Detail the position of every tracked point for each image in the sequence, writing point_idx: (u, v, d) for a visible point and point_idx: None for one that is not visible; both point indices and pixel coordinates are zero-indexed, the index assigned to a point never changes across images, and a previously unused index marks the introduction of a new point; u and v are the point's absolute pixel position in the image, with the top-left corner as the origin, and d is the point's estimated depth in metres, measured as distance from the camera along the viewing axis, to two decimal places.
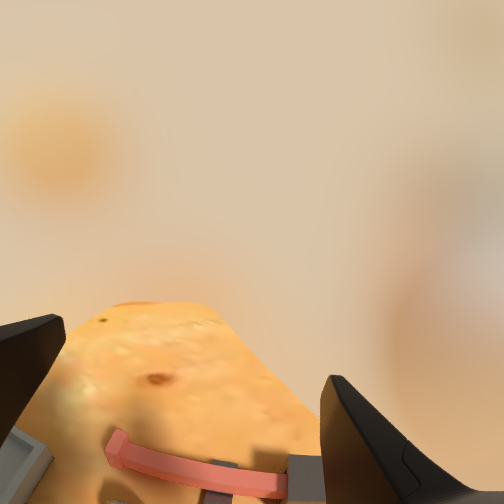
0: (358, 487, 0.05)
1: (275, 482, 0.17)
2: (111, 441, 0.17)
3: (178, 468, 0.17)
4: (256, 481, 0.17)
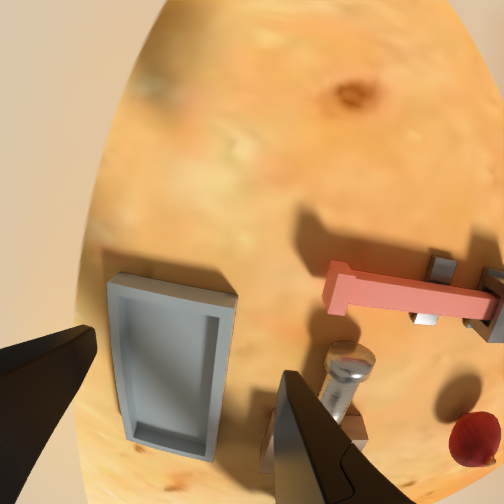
0: (296, 488, 0.05)
1: (485, 310, 0.16)
2: (335, 297, 0.16)
3: (409, 304, 0.16)
4: (472, 310, 0.16)
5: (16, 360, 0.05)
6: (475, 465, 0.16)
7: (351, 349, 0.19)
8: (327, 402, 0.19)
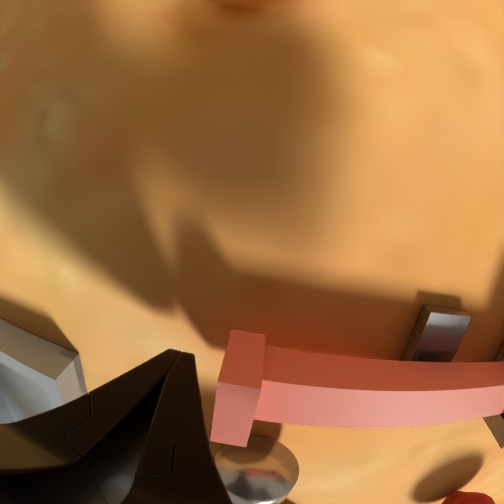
0: None
1: None
2: (219, 420, 0.07)
3: (394, 417, 0.07)
4: None
5: (118, 405, 0.05)
6: None
7: (259, 455, 0.10)
8: None
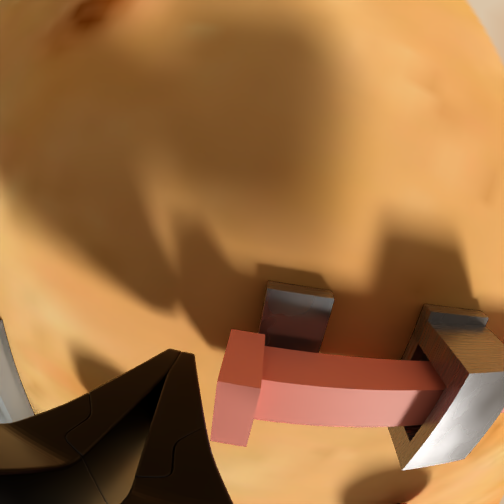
0: None
1: None
2: (219, 419, 0.07)
3: (393, 416, 0.07)
4: None
5: (118, 405, 0.05)
6: None
7: None
8: None
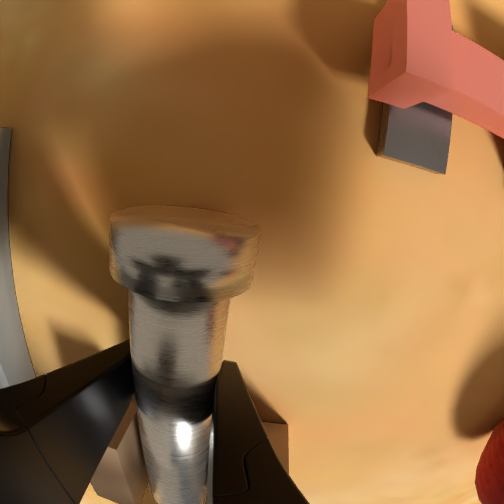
0: (209, 478, 0.05)
1: None
2: (416, 28, 0.04)
3: None
4: None
5: (70, 386, 0.05)
6: None
7: (194, 215, 0.07)
8: (136, 370, 0.07)
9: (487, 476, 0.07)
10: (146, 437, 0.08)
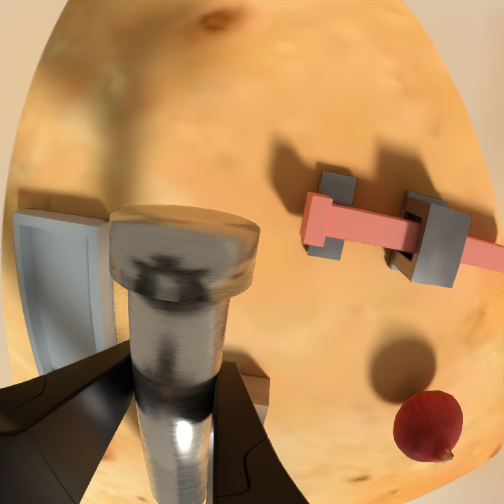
0: (209, 478, 0.05)
1: (486, 257, 0.15)
2: (311, 223, 0.14)
3: (399, 240, 0.15)
4: (472, 254, 0.15)
5: (70, 386, 0.05)
6: (425, 459, 0.15)
7: (194, 214, 0.07)
8: (136, 370, 0.07)
9: (396, 425, 0.18)
10: (146, 437, 0.08)
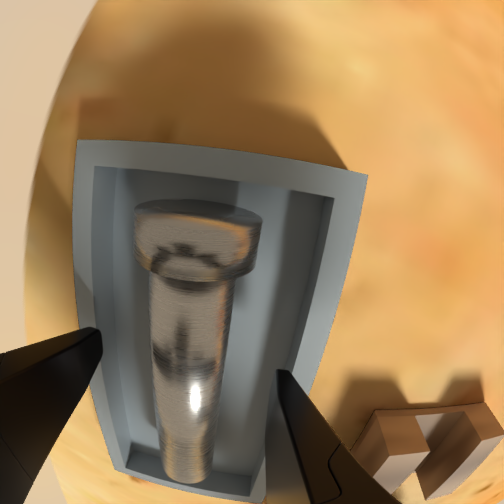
0: (285, 487, 0.05)
1: None
2: None
3: None
4: None
5: (22, 364, 0.05)
6: None
7: (205, 207, 0.08)
8: (154, 343, 0.08)
9: None
10: (160, 407, 0.09)
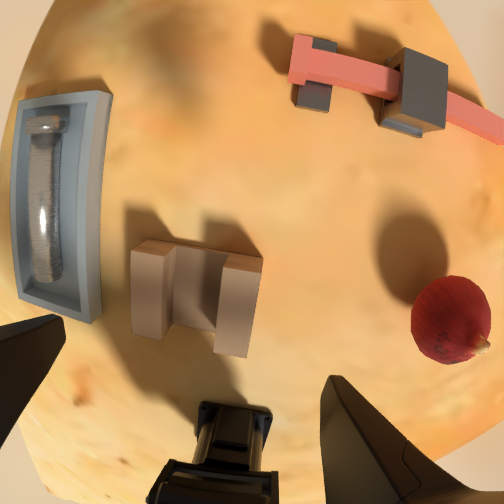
0: (358, 487, 0.05)
1: (475, 115, 0.14)
2: (295, 54, 0.13)
3: (382, 82, 0.14)
4: (460, 109, 0.14)
5: None
6: (456, 352, 0.14)
7: None
8: None
9: (414, 316, 0.17)
10: None
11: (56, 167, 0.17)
